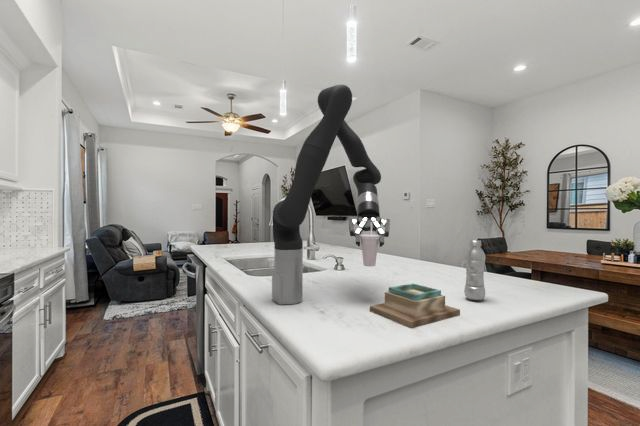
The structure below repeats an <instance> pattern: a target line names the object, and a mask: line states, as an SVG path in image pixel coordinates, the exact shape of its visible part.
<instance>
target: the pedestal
mask: <svg viewBox="0 0 640 426" xmlns="http://www.w3.org/2000/svg"><path fill="white" fill-rule="evenodd" d="M369 312H371V313H374V314H376V315H377V316H378V315H379V316H381V317H383V318H386V319H387V320H390V321H393V322H395V323H398V324H400V325H403V326H405V327H407V328H410V329H413V328H416V327H421V326H425V325H428V324H431V323H434V322H439V321H442V320H443V321H444V320H447V319H449V318H453V317H458V316H460V315H461V309H460V308H456V307H453V306H450V305H446V295H443V294H442V290H440V289H437V288H432V287H428V286H425V285H420V284H417V283H406V284H401V285H396V286H395V285H394V286H388V291H385V292H384V302H383V303H379V304H372V305H370V306H369Z"/></svg>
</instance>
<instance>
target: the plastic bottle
mask: <svg viewBox="0 0 640 426" xmlns="http://www.w3.org/2000/svg"><path fill="white" fill-rule="evenodd" d="M468 246H469V248H468V249H467V250H466V251H465V253H464V259H465V260H464V261H465V262H464V263H465V270H466V275H465V276H466V278H465V285H464V296H465V298H466V299H468V300H472V301H484V300H485V298H486V294H487V293H486V287H485V279H484V278H485V277H484V275H485V274H484V272H485V264H486V253H485V252H484V250H483V248H481V247H482V240H481V239H469V243H468Z"/></svg>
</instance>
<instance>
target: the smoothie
mask: <svg viewBox="0 0 640 426" xmlns="http://www.w3.org/2000/svg"><path fill="white" fill-rule="evenodd" d="M379 239H380V236H379V235H378V234H373V231H372V222H371V231H370V234H361V235H360V246H361V252H362V262H363V266H365V267H375V266H376V262H377V256H378V249H379Z"/></svg>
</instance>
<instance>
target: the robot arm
mask: <svg viewBox="0 0 640 426" xmlns="http://www.w3.org/2000/svg"><path fill="white" fill-rule="evenodd" d="M352 102H353V93H352V90H351V88H350V87H349V86H348V85H345V84H335V85H333V86H329V87H326V88H324V89H322V90H321V91H320V92H319V93H318V96H317V105H318V108H319V110H320V112H321V114H322V118H321V120H320V121H319V122H318V124H317V125H316V126H315V128H313V130H312V131H311V132H310V133H309V135H307V137H306V138H305V140H304V142H303V144H302V147H301V149H300V151H299V154H298V156H297V159H296V162H295V169H294V176H293V180H292V184H291V186H290V188H289V190H288V192H287V194H286V196H285V198H284V200H280V201H278V202H277V203H276V204H275V205H274V207H273V210H272V239H273V244H274V271H272V272H271V300H272V302H274V303H276V304H278V305H279V306H281V305H297V304H299V303H301V302H302V301H303V297H304V296H303V288H304V287H303V281H304V280H303V279H304V278H303V272H304V271H303V267H304V265H303V264H304V263H303V261H304V260H303V255H304V253H303V252H304V248H303V246H304V245H303V239H302V237H301V233H300V226H301V225H302V223H303V222H304V221H305V219H306V217H307V213H308V209H309V206H310V202H311V198H312V196H313V193H314V190H315V188H316V186H317V183H318V181H319V178H320V176H321V174H322V171H323V169H324V167H325V165H326V162H327V160H328V157H329V155H330V153H331V149H332V148H333V144H334V142H335V139H336V138H338V140H339V141H340V143H341V146H342V147H343V149H344V152H345V154H346V156H347V159H348V161H349V163H350V166H352V167H353V168H363V169H359V170H357V171H356V172H355V173H353V176H352V180H353V182H354V185H355V187H356V190H357V205H356V208H357V217H356V219H353V218H349V219H348V229H349V231H348V232H349V236H350V237H355V245H356V246H357V247H360V246H361V239H360V235H363V233H364V232H371V222H372V232H374V233H375V235H379V236H380V239H379V241H378V246H379V248H382V247H383V246H384V244H385V238H388V237H389V236H390V225H391V223H390V222H391V220H390V219H389V218H386V219H385V220H384V219H382V218H381V217H380V216H381V214H380V213H381V212H380V203H379V202H380V201H379V199H378V198H379V197H378V189H377V186H376V185H377V184H379V183H380V182H381V180H382V174H381V171H380V170H379V169H378V167H377V166H376V165H375V164H374V163H373V161H372V160H371V158H370V157H369V155H368V153H367V150H366V148H365V145H364V143H363V142H362V140H361V138H360V137H359V135H358V134H357V133H356V132H355V131H354V130H353V129H352V128H351V127H350V126H349V124H348V123H347V122H346V120H345V118H346V116H347V115H348V113H349V111H350V109H351V107H352ZM356 225H357V226H358V227H357V228H356V230H354V229H355V228H354V227H355V226H356ZM381 225H382V226H383V227H384V228H385V230H383V229H382V227H381Z"/></svg>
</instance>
